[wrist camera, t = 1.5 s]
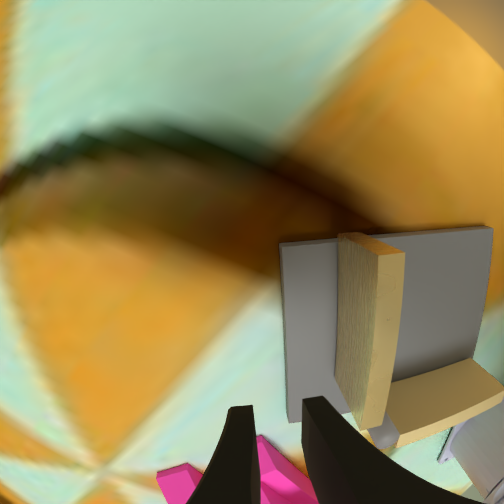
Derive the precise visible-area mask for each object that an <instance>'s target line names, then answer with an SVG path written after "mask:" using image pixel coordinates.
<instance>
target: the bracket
mask: <svg viewBox="0 0 504 504" xmlns="http://www.w3.org/2000/svg"><path fill="white" fill-rule="evenodd" d="M256 439H257V447H258V456H259V465H260V474H261V504H319V503H318V500H317V497H316V494H315V491H314V489H313V486H312V483H311V480H310V479H308V478H307V477H306V476H305V475H304V474H303V473H302V472H300V471H299V470H298V469H297V468H296V467H295V466H294V465H292V464H291V463H290V462H289V461H288V460H287V459H286V458H285V457H284V456H283V455H282V454H280V453H279V452H278V451H277V450H276V449H275V448H274V447H273V446H272V445H271V444H270V443H269V442H268V441H267V440H266V439H265V438H264V437H263V436H262V435H260V436H258V437H256ZM202 476H203V474H201V473H200V472H199V471H197V470H196V469H195V468H193V467H192V466H191V465H189V464H188V463H187V464H184V465H181V466H178V467H174V468H171V469H168V470H164V471H161V472H157V477H156V479H157V482H158V484H159V486H160V488H161V490H162V492H163V495H164V497H165V499H166V501H167V503H168V504H186V502H187V501H188V499H189V498H190V496H191V495H192V493H193V491H194V490H195V488H196V487H197V485H198V483H199V481H200V479H201V478H202Z"/></svg>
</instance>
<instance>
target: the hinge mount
mask: <svg viewBox="0 0 504 504" xmlns="http://www.w3.org/2000/svg"><path fill="white" fill-rule="evenodd" d="M368 236H370V237H372V238H375V239H377V240H379V241H381V242H383V243H386V244H388V245H390V246H392V247H394V248H397V249H399V250H401V251H403V252H405V267H404V284H403V296H402V307H401V317H400V326H399V334H398V341H397V348H396V355H395V361H394V368H393V373H392V379H391V384H390V390H389V395H388V399H387V404H386V409H385V413H384V418H383V422H382V425H380V426H376V427H373V428H369V429H367V430H368V432H369V434H370V436H371V438H372V439H373V441H374V443H375V445H376V447H377V448H378V449H384V448H387V447H390V446H391V445H393V444H394V446H395V448H398V447H401V446H404V445H407V444H410V443H413V442H415V441H418V440H421V439H423V438H426V437H429V436H431V435H434V434H436V433H439V432H441V431H443V430H446V429H448V428H450V427H453V426H455V425H457V424H459V423H462V422H464V421H466V420H468V419H470V418H472V417H474V416H476V415H478V414H480V413H482V412H484V411H486V410H488V409H490V408H492V407H494V406H495V405H497V404H499V403H501V402H502V399H503V397H504V386H503V385H502V384H501V383H499V382H498V381H497V380H496V379H495V378H494V377H493V376H491V375H490V374H489V373H488V372H487V371H486V370H485V369H483V368H482V367H481V366H480V365H479V364H478V363H476V362H475V361H474V360H473V359H472V358H473V355H474V351H475V347H476V343H477V339H478V334H479V330H480V325H481V321H482V316H483V311H484V305H485V300H486V294H487V287H488V280H489V273H490V264H491V255H492V243H493V228H491V227H487V226H475V227H463V228H451V229H438V230H426V231H414V232H402V233H390V234H379V235H368ZM279 253H280V269H281V287H282V306H283V327H284V350H285V376H286V408H287V417H288V422H289V423H295V422H301V421H302V399H304V398H310V397H316V396H324V397H325V398H326V399H327V400H328V401H329V402H330V403H331V405H332V406H333V407H334V408H335V409H336V410H337V411H338V412H339V413H340V414H345V413H349V412H351V411H350V409H349V407H348V405H347V403H346V401H345V399H344V397H343V395H342V393H341V391H340V389H339V387H338V385H337V383H336V381H335V368H336V349H337V324H338V238H333V239H321V240H310V241H299V242H288V243H279Z"/></svg>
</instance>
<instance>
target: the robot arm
mask: <svg viewBox="0 0 504 504" xmlns="http://www.w3.org/2000/svg"><path fill="white" fill-rule="evenodd" d="M301 443H302V448H303V453H304V458H305V463H306V467H307V471H308V474H309V477H310V480H311V483H312V486H313V489H314V491H315V494H316V497H317V500H318V503H319V504H504V397H503V399H502V402H501V403H499V404H497V405H495V406H494V407H492V408H490V409H488V410H486V411H484V412H482V413H480V414H478V415H476V416H474V417H472V418H470V419H468V420H466V421H464V422H462V423H459V424H457V425H455V426H453V429H452V431H451V433H450V436H449V438H448V440H447V442H446V444H445V447H444V449H443V451H442V453H441V455H440V457H439V459H438V463H439V464H441V463H444V462H446V461H448V460H450V459H452V458H454V457H455V458H456V460H457V461H458V462H459V464H460V465H461V467H462V468H463V470H464V471H465V472H466V474H467V475H468V477H469V478H470V479H471V481H472V482H473V484H474V485H475V487H476V488H477V489H478V491H479V492H480V494H481V495H482V497H483V498H484V501H483V502H478V501H474V500H472V499H468V498H465V497H462V496H460V495H457V494H455V493H452V492H450V491H447V490H445V489H442V488H440V487H438V486H435V485H433V484H431V483H429V482H427V481H426V480H424V479H422V478H420V477H418V476H416V475H415V474H413V473H411V472H410V471H408V470H406V469H405V468H403V467H402V466H400V465H399V464H397V463H396V462H394V461H393V460H392V459H390V458H389V457H387V456H386V455H385V454H384V453H382V452H381V451H380V450H378V449H377V448H376V447H375V446H374V445H372V444H371V443H370V442H369V441H368V440H367V439H365V438H364V437H363V436H362V435H361V434H360V433H359V432H358V431H357V430H356V429H354V428H353V427H352V426H351V425H350V424H349V423H348V422H347V421H346V420H345V419H344V418H343V417H342V415H341V414H340V413H339V412H338V411H337V410H336V409H335V408H334V407H333V406H332V405H331V403H330V402H329V401H328V400H327V399H326V398H325V397H324V396H316V397H310V398H304V399H302V439H301ZM186 504H261V474H260V465H259V456H258V447H257V439H256V430H255V422H254V413H253V405H246V406H234V407H231V408H230V409H228V414H227V418H226V422H225V425H224V429H223V432H222V434H221V437H220V440H219V442H218V445H217V447H216V449H215V451H214V454H213V456H212V458H211V460H210V463H209V465H208V466H207V468H206V470H205V472H204V474H203V476H202V478H201V479H200V481H199V483H198V485H197V487H196V488H195V490H194V491H193V493H192V495H191V496H190V498H189V499H188V501H187V502H186Z"/></svg>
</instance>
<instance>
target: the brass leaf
mask: <svg viewBox="0 0 504 504" xmlns="http://www.w3.org/2000/svg"><path fill="white" fill-rule="evenodd" d="M404 267H405V252H403V251H401V250H399V249H397V248H394V247H392V246H390V245H388V244H386V243H383V242H381V241H379V240H377V239H375V238H372V237H370V236H368V235H366V234H363V233H361V232H348V233H338V324H337V349H336V368H335V381H336V383H337V385H338V387H339V389H340V391H341V393H342V395H343V397H344V399H345V401H346V403H347V405H348V407H349V409H350V411H351V413H352V415H353V417H354V419H355V421H356V423H357V425H358V427H359V429H360V431H361V430H365V429H369V428H373V427H376V426H380V425H382V422H383V418H384V413H385V409H386V404H387V399H388V395H389V390H390V384H391V379H392V373H393V368H394V361H395V355H396V348H397V341H398V334H399V326H400V317H401V307H402V296H403V284H404Z"/></svg>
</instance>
